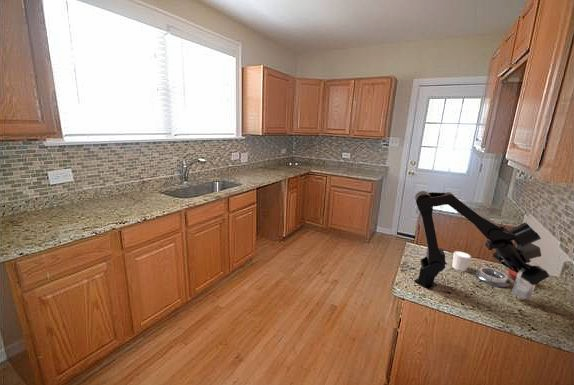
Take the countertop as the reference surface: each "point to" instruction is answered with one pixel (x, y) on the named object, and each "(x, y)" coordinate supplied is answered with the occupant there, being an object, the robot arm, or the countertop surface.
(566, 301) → the countertop surface
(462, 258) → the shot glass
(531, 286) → the clear drinking glass
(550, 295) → the countertop surface
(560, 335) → the countertop surface
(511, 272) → the pomegranate
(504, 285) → the collar
